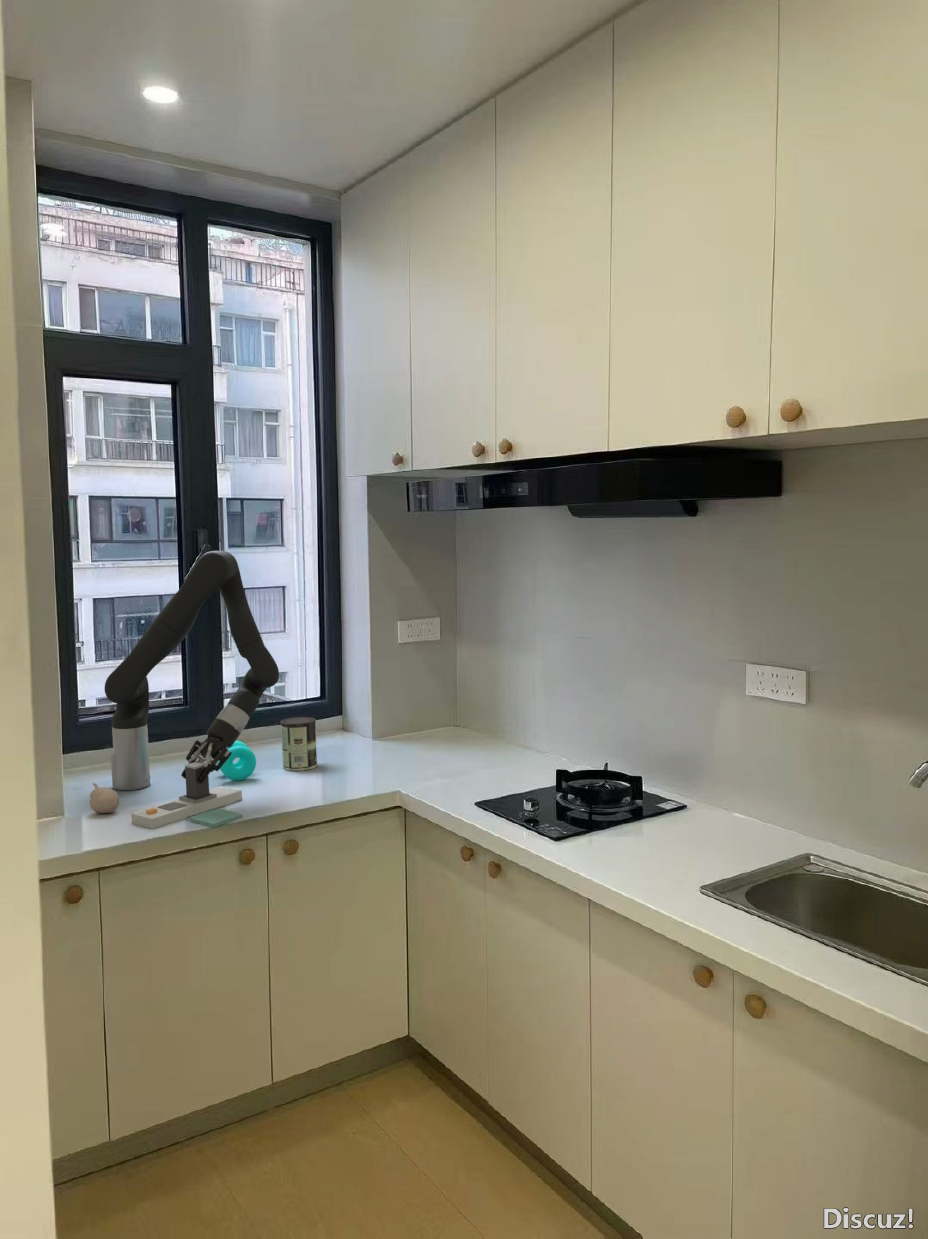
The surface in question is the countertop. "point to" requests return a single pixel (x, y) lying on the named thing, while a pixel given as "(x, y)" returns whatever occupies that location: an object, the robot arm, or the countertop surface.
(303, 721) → the coffee can
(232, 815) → the pad
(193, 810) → the strip
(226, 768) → the donuts
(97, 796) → the garlic bulb
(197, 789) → the block
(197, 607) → the robot arm
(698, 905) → the countertop surface
